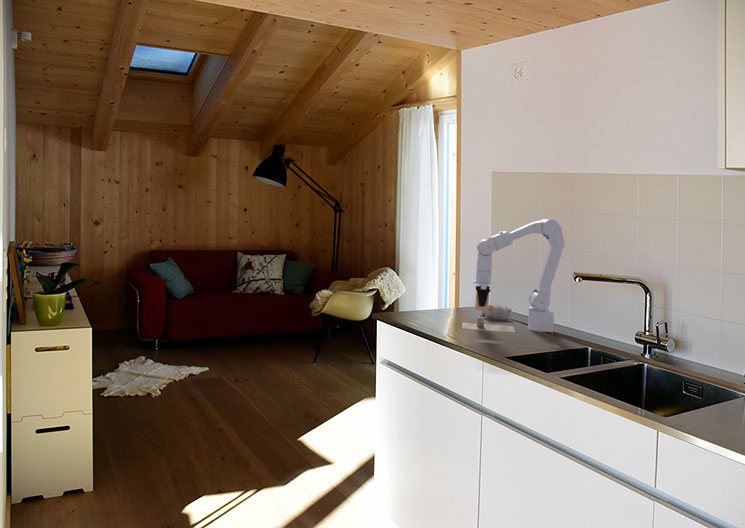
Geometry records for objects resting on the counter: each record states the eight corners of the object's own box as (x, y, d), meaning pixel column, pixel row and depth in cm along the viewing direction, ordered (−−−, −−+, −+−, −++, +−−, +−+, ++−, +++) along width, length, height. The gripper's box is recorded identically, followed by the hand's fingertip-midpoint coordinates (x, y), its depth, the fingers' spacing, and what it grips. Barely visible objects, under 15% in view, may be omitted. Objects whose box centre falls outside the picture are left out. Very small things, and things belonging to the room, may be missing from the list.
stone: (512, 322, 268) (513, 306, 267) (485, 322, 265) (486, 306, 264) (504, 319, 276) (505, 303, 275) (478, 319, 273) (479, 303, 272)
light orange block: (487, 308, 253) (488, 293, 252) (487, 310, 248) (489, 295, 248) (475, 307, 254) (476, 292, 253) (475, 309, 249) (476, 294, 248)
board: (513, 328, 255) (513, 317, 254) (515, 335, 243) (516, 323, 243) (462, 325, 258) (462, 314, 257) (462, 331, 246) (462, 319, 245)
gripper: (473, 268, 257) (471, 301, 258) (473, 272, 243) (471, 307, 244) (491, 269, 256) (488, 302, 257) (492, 273, 242) (490, 308, 243)
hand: (481, 305), depth 251 cm, fingers closed on light orange block, 5 cm apart
